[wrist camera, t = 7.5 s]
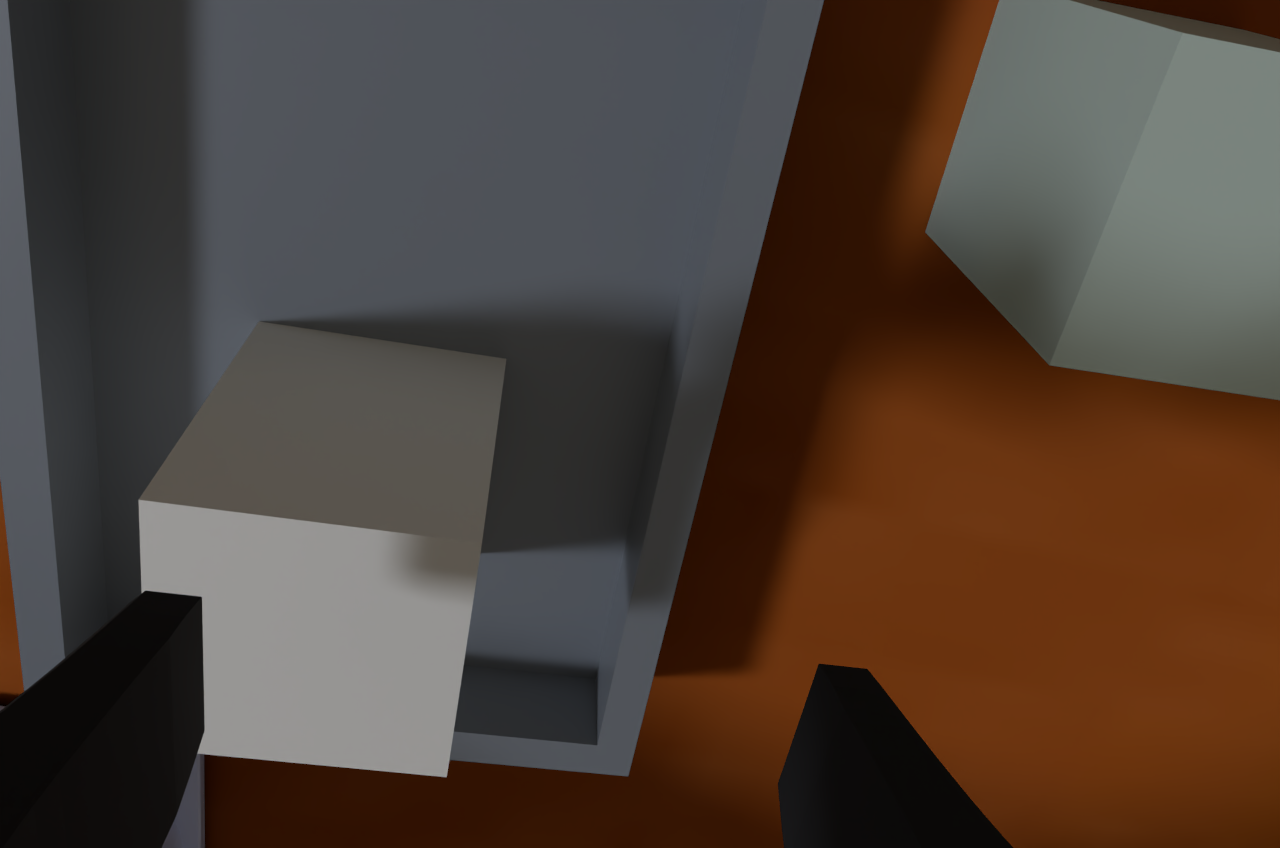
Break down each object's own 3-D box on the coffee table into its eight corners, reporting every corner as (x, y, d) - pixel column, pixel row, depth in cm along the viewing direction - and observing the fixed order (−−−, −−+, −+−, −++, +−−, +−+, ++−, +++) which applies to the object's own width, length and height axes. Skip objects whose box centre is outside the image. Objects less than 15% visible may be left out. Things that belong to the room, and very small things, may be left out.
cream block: (477, 553, 22) (446, 777, 16) (253, 525, 21) (146, 748, 16) (506, 358, 20) (481, 542, 14) (259, 321, 19) (138, 499, 14)
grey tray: (622, 678, 25) (628, 776, 22) (89, 622, 23) (27, 720, 21) (807, -113, 17) (850, -108, 14) (25, -282, 15) (-89, -310, 13)
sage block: (1141, 268, 21) (1334, 409, 15) (924, 232, 20) (1049, 365, 15) (1242, 29, 19) (1506, 97, 13) (1004, -19, 18) (1182, 33, 13)
